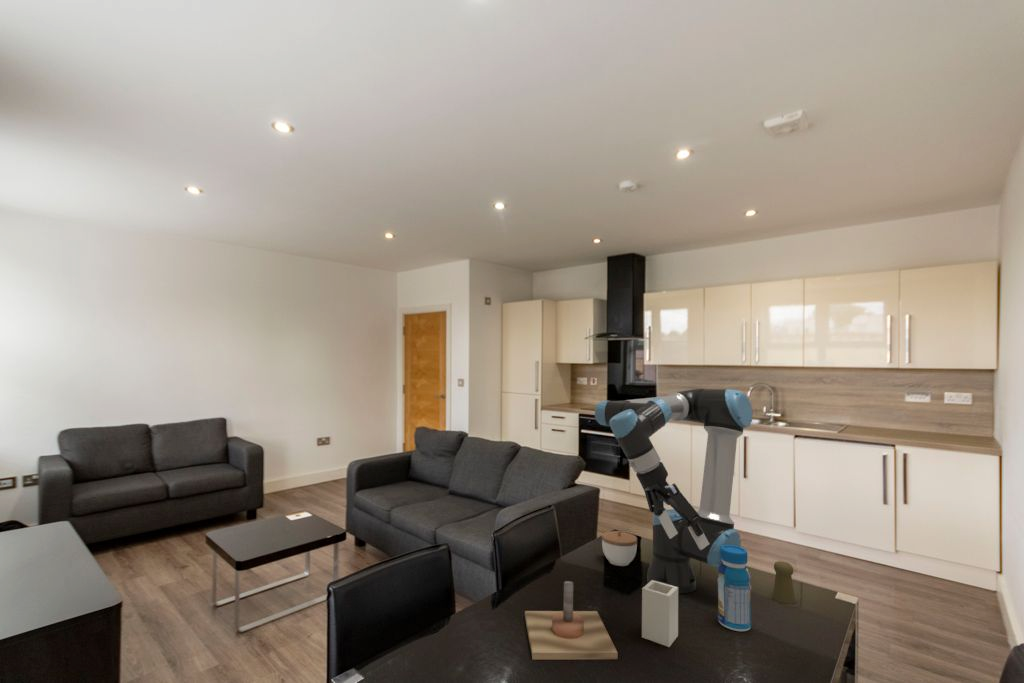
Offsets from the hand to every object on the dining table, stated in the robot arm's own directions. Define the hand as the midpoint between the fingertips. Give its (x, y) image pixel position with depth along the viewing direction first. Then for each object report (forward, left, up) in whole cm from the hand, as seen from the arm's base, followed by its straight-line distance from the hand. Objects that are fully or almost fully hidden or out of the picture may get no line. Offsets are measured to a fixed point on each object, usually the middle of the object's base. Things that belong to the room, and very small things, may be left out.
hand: (688, 541), depth 122 cm
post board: (-2, -31, -24) cm, 39 cm away
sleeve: (-2, -7, -24) cm, 25 cm away
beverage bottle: (-8, +16, -25) cm, 31 cm away
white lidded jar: (-52, -3, -25) cm, 57 cm away
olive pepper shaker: (-23, +40, -25) cm, 52 cm away
